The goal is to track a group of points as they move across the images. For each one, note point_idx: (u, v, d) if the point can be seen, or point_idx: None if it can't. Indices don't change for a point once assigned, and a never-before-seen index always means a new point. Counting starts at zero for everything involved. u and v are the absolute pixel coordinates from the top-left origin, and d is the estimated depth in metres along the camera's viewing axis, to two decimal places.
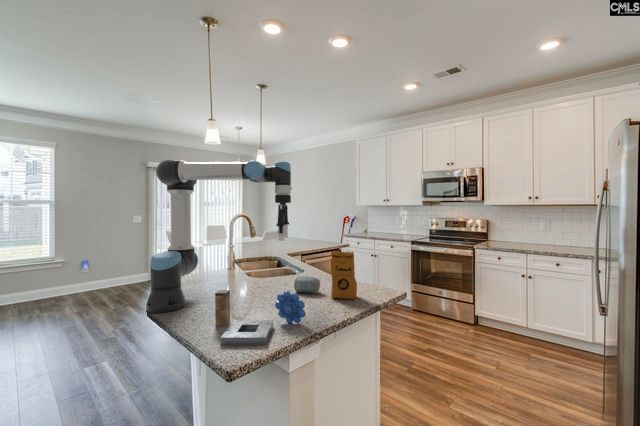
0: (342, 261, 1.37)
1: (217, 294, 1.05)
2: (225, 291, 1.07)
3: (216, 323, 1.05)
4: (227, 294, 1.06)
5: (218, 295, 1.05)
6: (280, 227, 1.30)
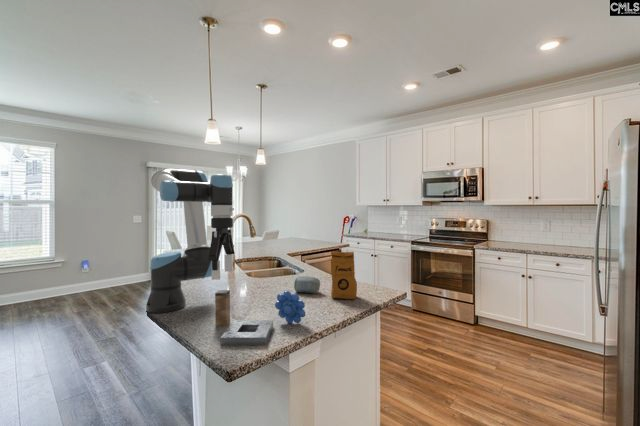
0: (342, 261, 1.37)
1: (217, 294, 1.05)
2: (225, 291, 1.07)
3: (216, 323, 1.05)
4: (227, 294, 1.06)
5: (218, 295, 1.05)
6: (213, 262, 0.98)
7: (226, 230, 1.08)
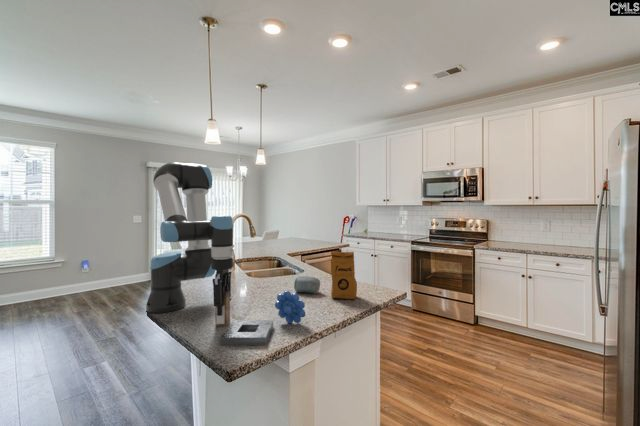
0: (342, 261, 1.37)
1: None
2: (225, 291, 1.07)
3: (216, 323, 1.05)
4: (227, 294, 1.06)
5: None
6: (218, 308, 1.03)
7: None
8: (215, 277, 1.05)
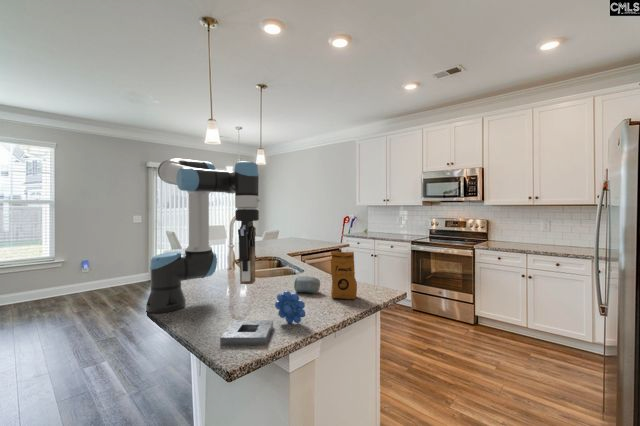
0: (342, 261, 1.37)
1: None
2: (250, 246, 0.97)
3: (241, 280, 0.94)
4: (253, 249, 0.96)
5: None
6: (244, 263, 0.93)
7: (252, 221, 0.98)
8: None
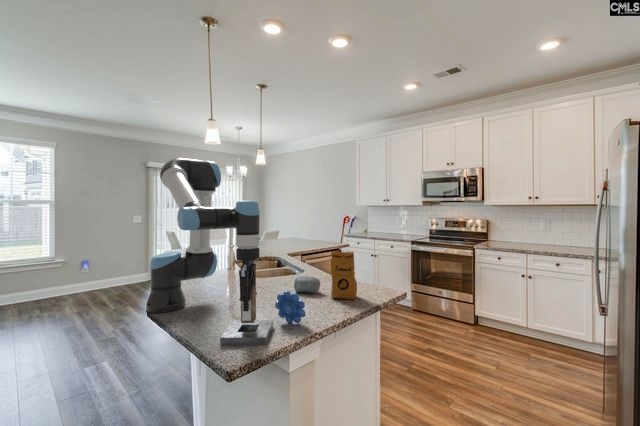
0: (342, 261, 1.37)
1: None
2: (251, 284, 0.97)
3: None
4: (253, 287, 0.96)
5: None
6: (245, 303, 0.93)
7: None
8: None
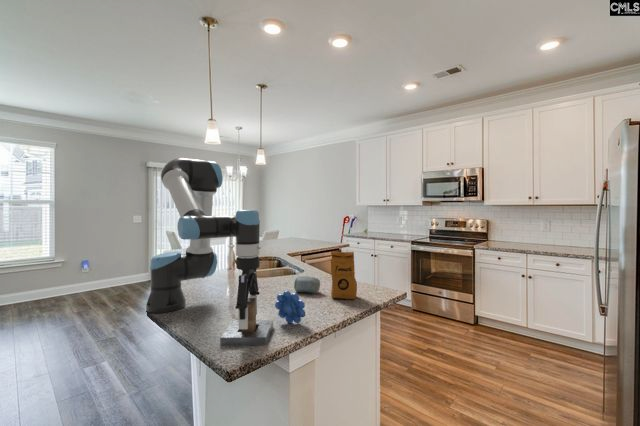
0: (342, 261, 1.37)
1: None
2: (251, 299, 0.97)
3: None
4: (253, 303, 0.96)
5: None
6: (241, 311, 0.89)
7: (252, 270, 0.98)
8: None
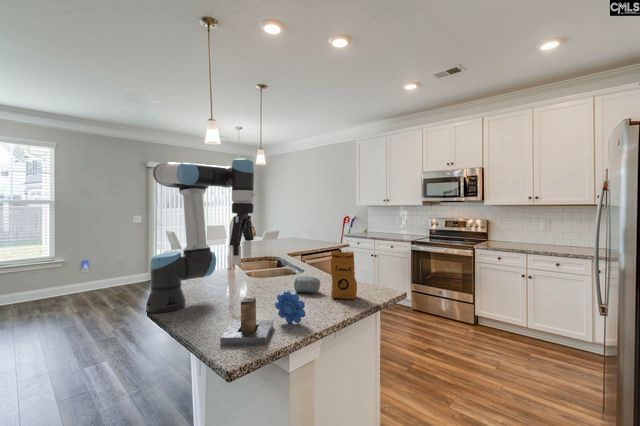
0: (342, 261, 1.37)
1: (243, 303, 0.95)
2: (251, 299, 0.97)
3: None
4: (253, 303, 0.96)
5: (243, 304, 0.95)
6: (234, 247, 0.97)
7: (246, 216, 1.07)
8: None
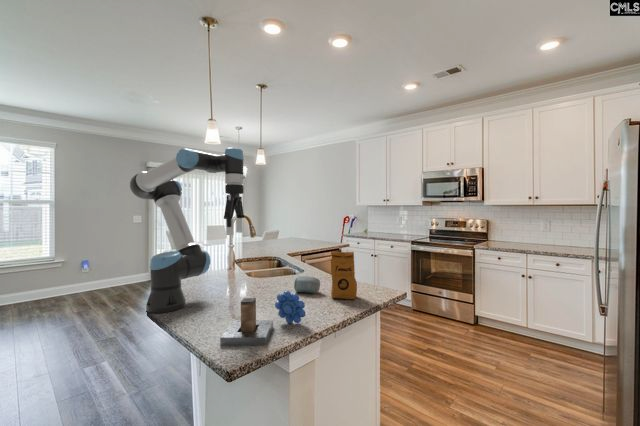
0: (342, 261, 1.37)
1: (243, 303, 0.95)
2: (251, 299, 0.97)
3: None
4: (253, 303, 0.96)
5: (243, 304, 0.95)
6: (228, 220, 1.17)
7: (238, 196, 1.27)
8: None
